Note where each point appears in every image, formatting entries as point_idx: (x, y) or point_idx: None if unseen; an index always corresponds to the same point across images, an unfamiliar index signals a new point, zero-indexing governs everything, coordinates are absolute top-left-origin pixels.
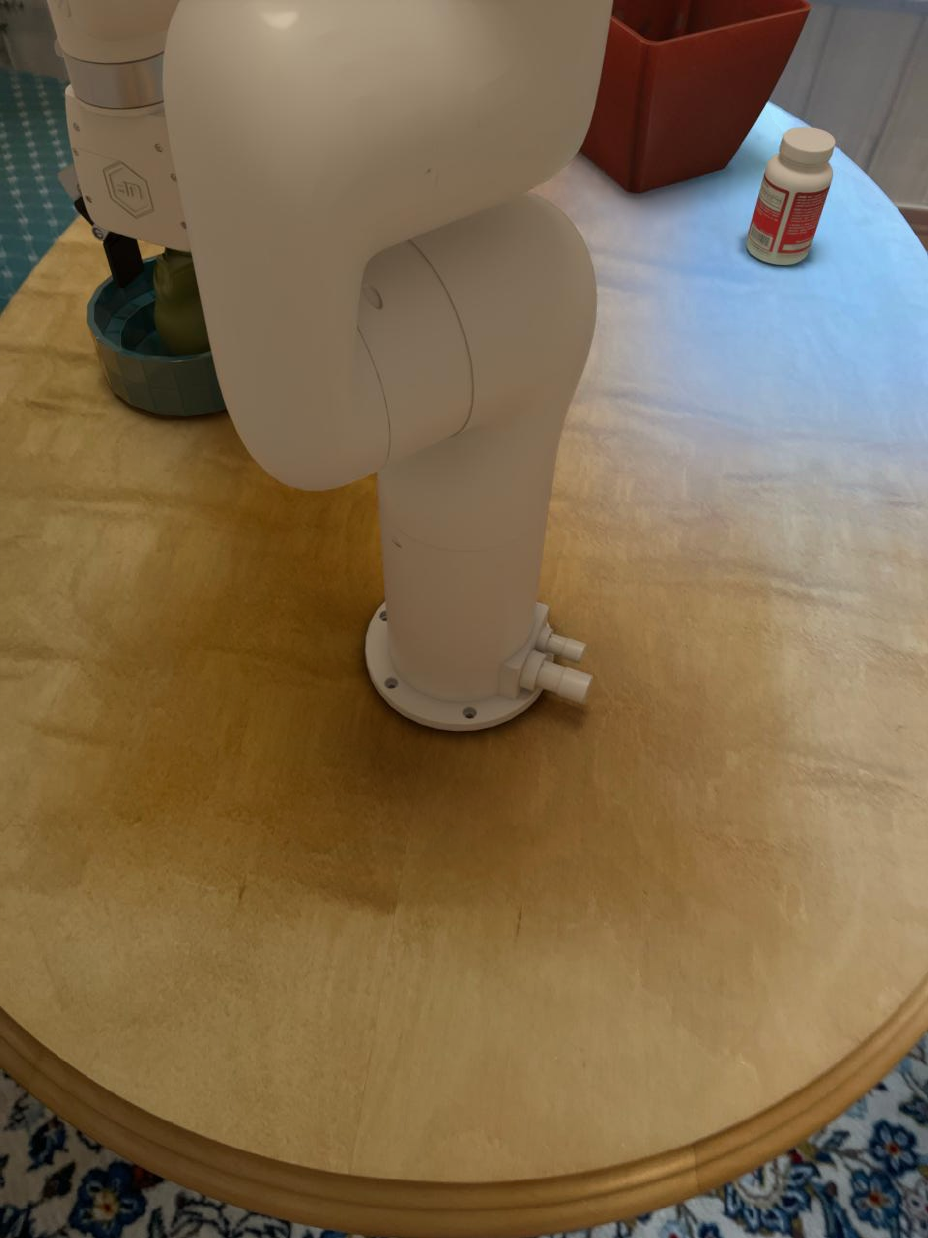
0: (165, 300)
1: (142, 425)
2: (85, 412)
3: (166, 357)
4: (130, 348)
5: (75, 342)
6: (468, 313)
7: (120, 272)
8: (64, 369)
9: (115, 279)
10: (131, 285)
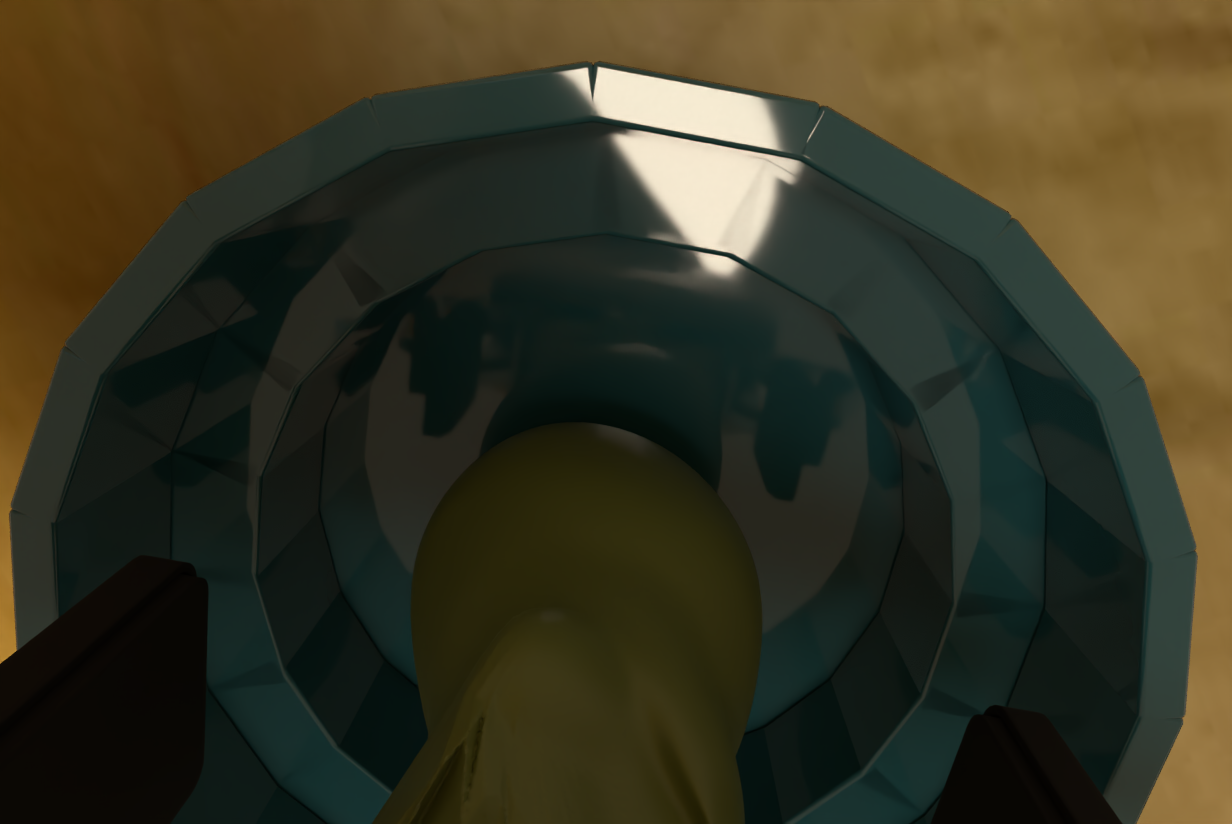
0: (593, 615)
1: (676, 39)
2: (984, 57)
3: (425, 133)
4: (909, 492)
5: (1192, 513)
6: None
7: (1023, 802)
8: (1187, 330)
9: (1052, 748)
10: None
